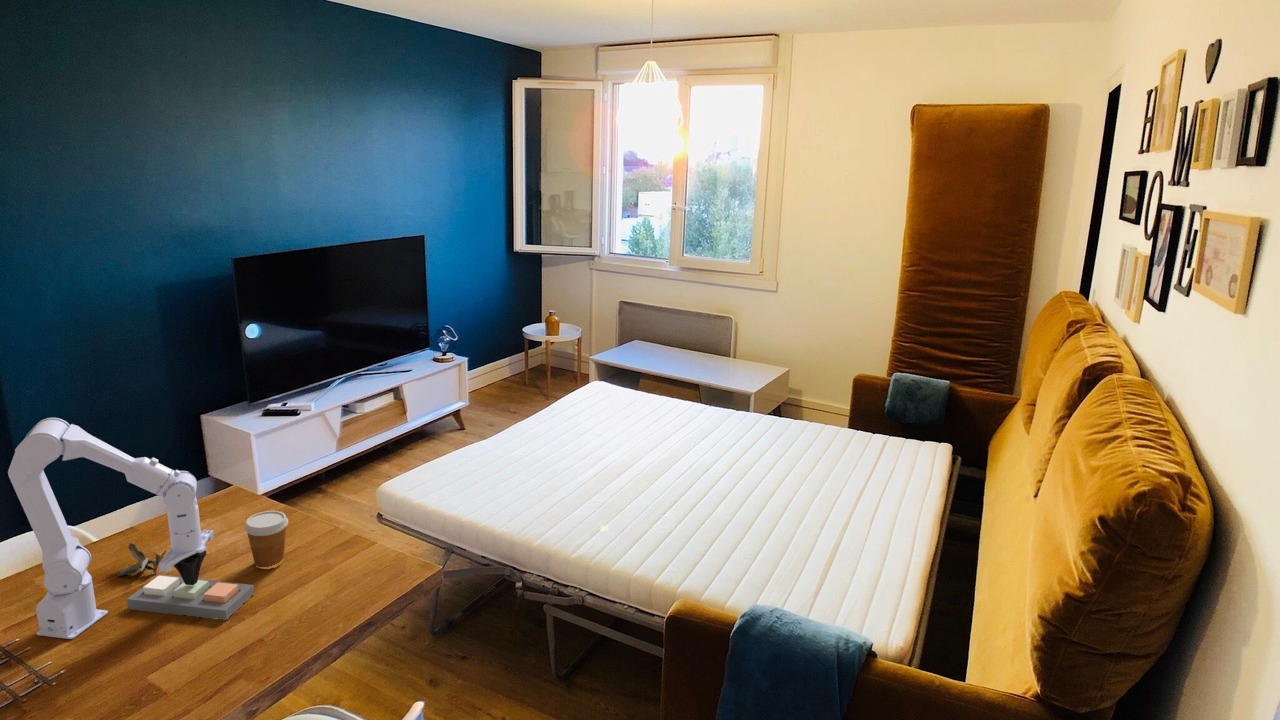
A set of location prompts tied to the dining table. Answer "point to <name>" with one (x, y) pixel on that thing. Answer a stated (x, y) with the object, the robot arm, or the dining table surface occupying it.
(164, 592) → the ivory key
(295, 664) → the dining table surface
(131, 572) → the eagle figurine
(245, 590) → the key frame
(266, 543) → the disposable coffee cup
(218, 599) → the terracotta key
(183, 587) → the sage key
